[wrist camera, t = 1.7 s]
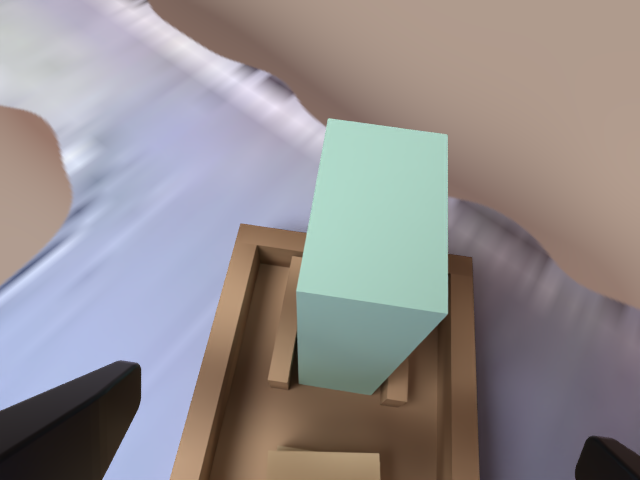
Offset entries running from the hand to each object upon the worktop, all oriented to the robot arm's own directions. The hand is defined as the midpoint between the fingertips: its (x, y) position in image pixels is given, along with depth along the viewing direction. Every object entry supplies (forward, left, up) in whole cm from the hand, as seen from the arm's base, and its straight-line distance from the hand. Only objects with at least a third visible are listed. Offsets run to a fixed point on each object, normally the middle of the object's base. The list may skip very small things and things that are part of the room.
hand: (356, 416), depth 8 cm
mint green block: (+4, +2, -10) cm, 11 cm away
